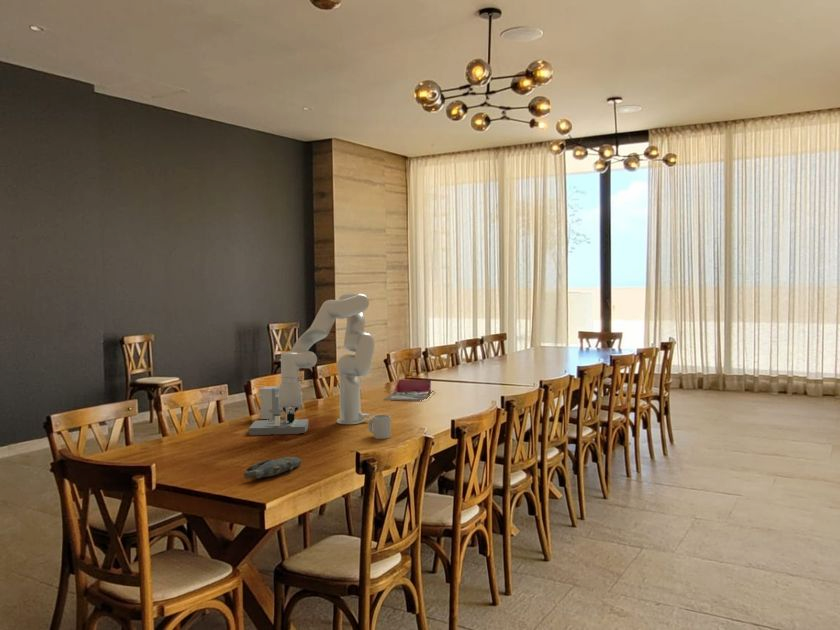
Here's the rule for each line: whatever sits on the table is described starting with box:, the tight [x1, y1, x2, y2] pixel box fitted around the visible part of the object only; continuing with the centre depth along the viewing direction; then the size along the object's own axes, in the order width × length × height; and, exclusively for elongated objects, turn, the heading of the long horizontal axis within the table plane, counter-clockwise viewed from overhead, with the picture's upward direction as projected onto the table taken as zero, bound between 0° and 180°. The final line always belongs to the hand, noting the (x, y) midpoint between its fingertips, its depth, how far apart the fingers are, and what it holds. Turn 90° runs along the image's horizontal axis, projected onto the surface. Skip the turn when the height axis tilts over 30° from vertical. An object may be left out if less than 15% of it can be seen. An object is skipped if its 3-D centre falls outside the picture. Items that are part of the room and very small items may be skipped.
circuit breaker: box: [258, 385, 291, 420], centre depth 338 cm, size 8×14×15 cm, turn 78°
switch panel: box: [248, 418, 309, 436], centre depth 311 cm, size 24×17×3 cm
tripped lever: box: [274, 413, 281, 426], centre depth 304 cm, size 2×3×5 cm
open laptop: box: [383, 379, 435, 402], centre depth 399 cm, size 24×35×8 cm
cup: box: [368, 414, 392, 440], centre depth 294 cm, size 7×10×9 cm
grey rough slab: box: [243, 456, 303, 479], centre depth 241 cm, size 5×25×15 cm
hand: (290, 422), depth 305 cm, fingers closed
